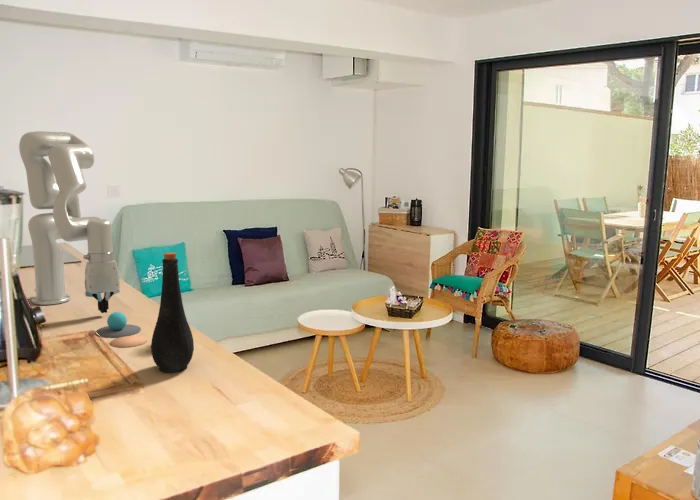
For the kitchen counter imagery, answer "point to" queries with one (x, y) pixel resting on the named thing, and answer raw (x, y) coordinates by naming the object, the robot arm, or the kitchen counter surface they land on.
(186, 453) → the kitchen counter surface
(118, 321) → the ball
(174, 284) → the bottle
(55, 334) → the kitchen counter surface
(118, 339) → the far mark
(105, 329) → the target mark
